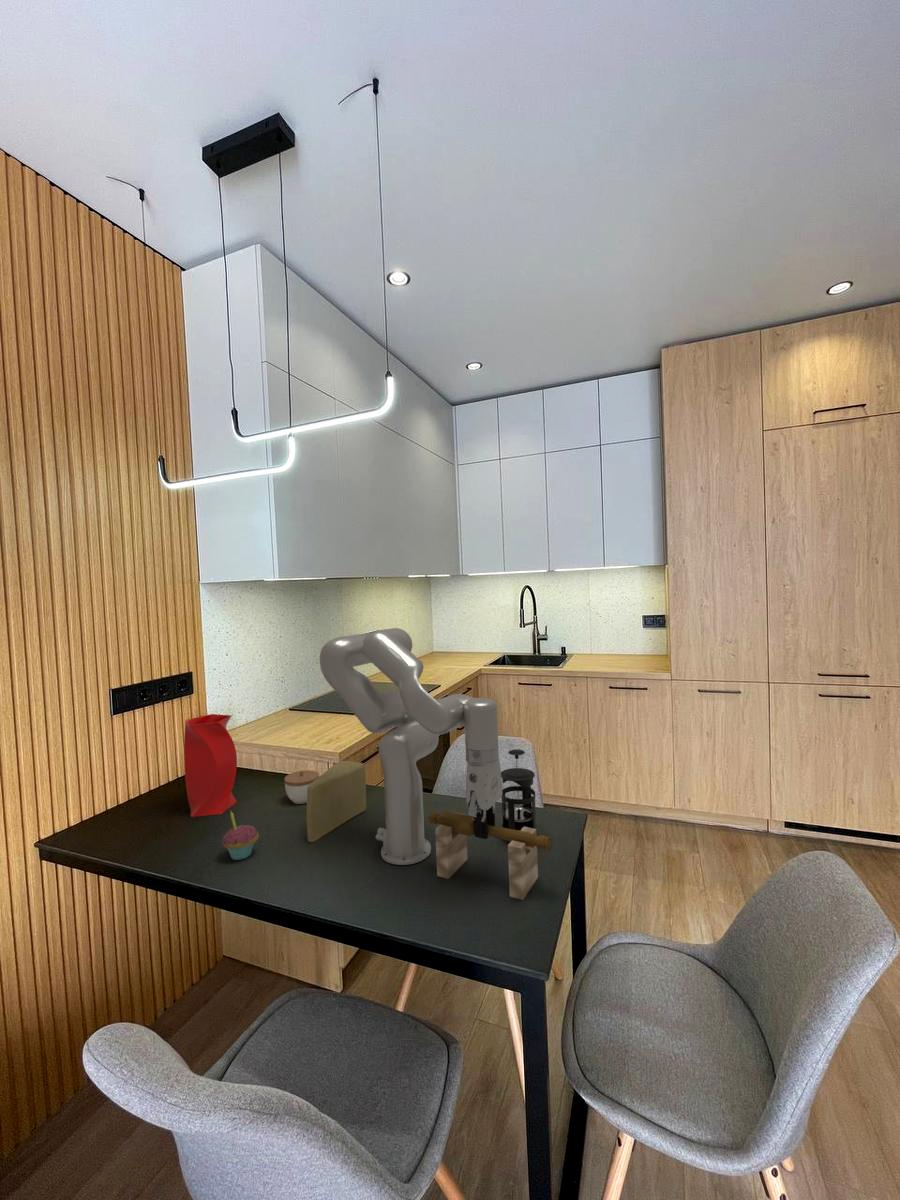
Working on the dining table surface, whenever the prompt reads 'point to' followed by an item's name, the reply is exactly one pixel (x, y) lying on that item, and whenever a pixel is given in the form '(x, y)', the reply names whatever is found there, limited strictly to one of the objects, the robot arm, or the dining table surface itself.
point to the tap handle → (466, 827)
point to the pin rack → (519, 859)
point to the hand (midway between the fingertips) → (484, 832)
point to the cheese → (335, 798)
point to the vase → (209, 764)
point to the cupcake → (240, 840)
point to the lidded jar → (299, 785)
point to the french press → (518, 815)
